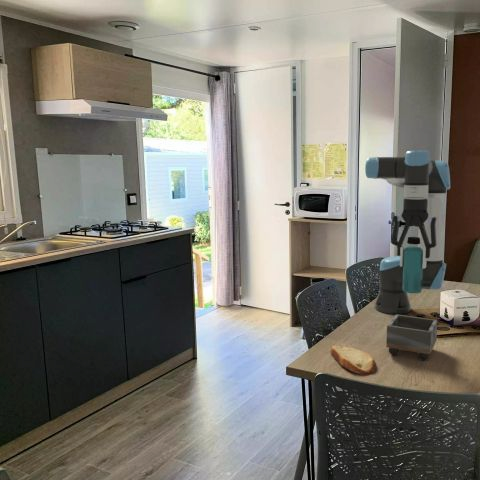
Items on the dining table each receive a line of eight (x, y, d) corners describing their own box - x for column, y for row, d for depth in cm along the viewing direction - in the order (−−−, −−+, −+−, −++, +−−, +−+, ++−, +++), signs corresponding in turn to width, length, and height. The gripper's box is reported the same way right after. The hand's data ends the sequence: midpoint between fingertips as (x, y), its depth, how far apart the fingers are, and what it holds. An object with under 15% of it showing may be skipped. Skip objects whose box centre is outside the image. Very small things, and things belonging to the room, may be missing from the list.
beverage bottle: (423, 298, 166) (426, 238, 163) (402, 297, 167) (405, 238, 164) (420, 293, 172) (423, 235, 169) (400, 292, 174) (402, 235, 170)
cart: (395, 341, 182) (396, 314, 181) (436, 348, 175) (437, 319, 174) (386, 355, 170) (386, 325, 169) (429, 362, 163) (430, 332, 162)
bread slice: (333, 348, 178) (333, 338, 177) (384, 357, 169) (384, 347, 169) (315, 367, 162) (315, 356, 162) (370, 378, 154) (371, 366, 153)
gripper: (382, 198, 166) (380, 266, 170) (445, 199, 157) (442, 271, 160) (388, 196, 172) (386, 261, 176) (449, 197, 163) (445, 267, 167)
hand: (412, 266), depth 168 cm, fingers closed on beverage bottle, 6 cm apart
